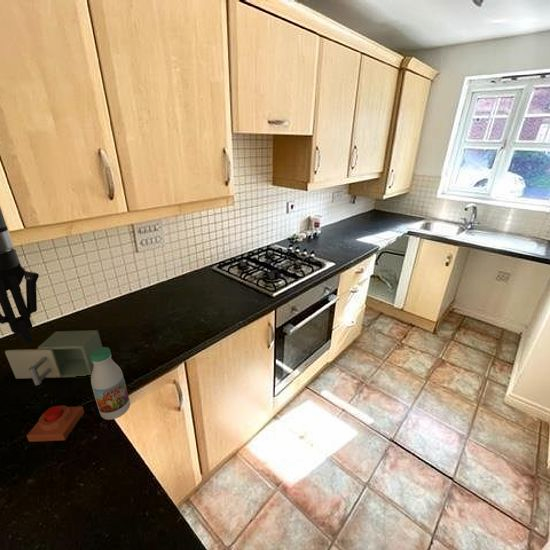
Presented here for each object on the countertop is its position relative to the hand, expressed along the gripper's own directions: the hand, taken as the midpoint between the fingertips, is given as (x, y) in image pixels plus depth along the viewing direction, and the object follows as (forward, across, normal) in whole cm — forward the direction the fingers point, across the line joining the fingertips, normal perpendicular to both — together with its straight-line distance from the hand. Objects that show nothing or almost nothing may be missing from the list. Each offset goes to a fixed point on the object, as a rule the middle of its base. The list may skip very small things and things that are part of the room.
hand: (27, 341), depth 75 cm
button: (+21, +1, +5) cm, 21 cm away
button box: (+24, +1, +5) cm, 25 cm away
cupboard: (+24, -14, -15) cm, 32 cm away
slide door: (+23, -2, -18) cm, 30 cm away
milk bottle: (+25, -10, +13) cm, 30 cm away
